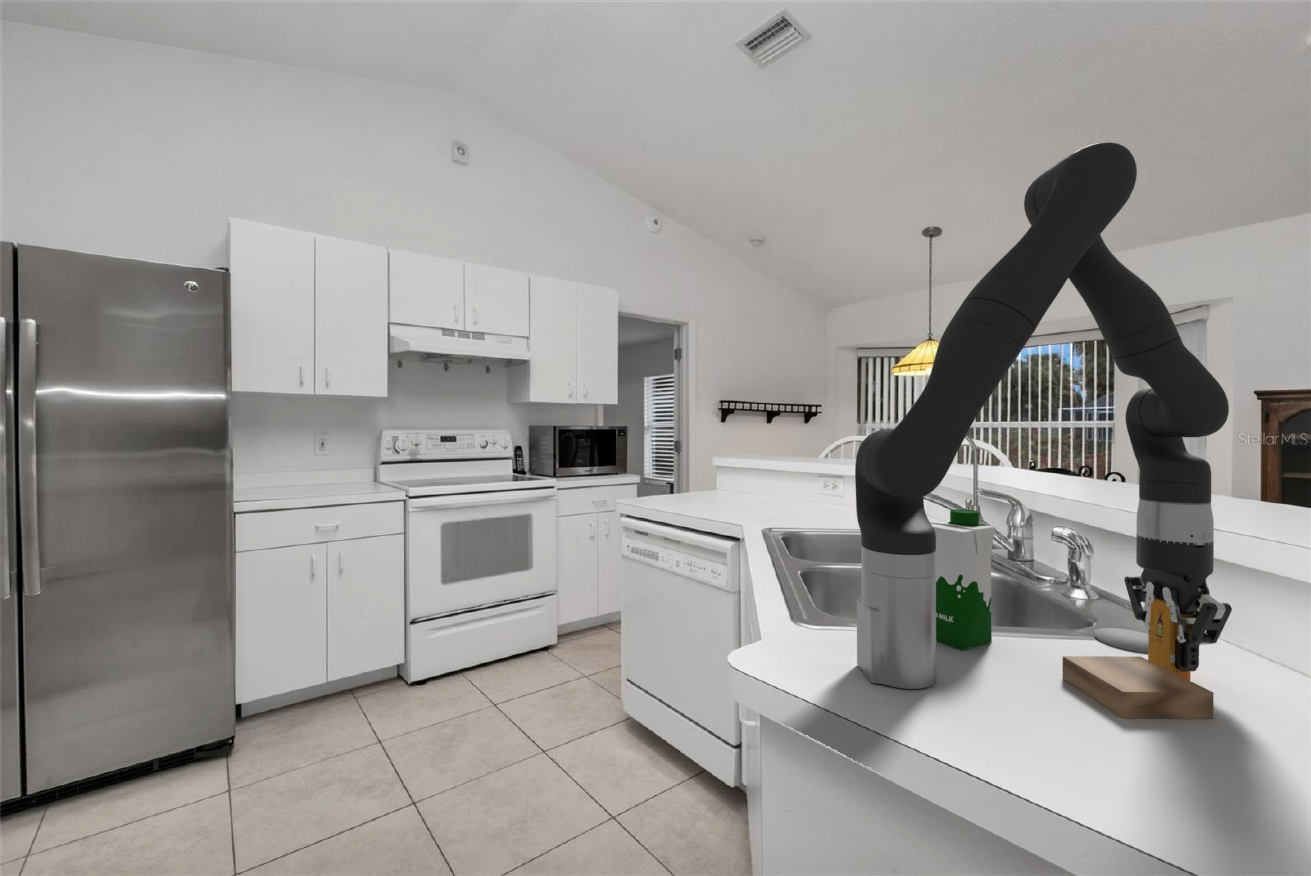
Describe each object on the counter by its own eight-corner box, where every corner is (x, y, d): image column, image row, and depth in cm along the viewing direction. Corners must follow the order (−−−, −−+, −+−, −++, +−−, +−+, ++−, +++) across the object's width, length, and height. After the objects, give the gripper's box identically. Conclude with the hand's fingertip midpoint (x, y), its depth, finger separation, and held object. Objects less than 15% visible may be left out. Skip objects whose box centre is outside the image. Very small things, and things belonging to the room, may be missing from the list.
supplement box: (1194, 681, 73) (1195, 605, 73) (1167, 681, 73) (1168, 605, 73) (1171, 670, 76) (1172, 597, 76) (1145, 670, 77) (1146, 597, 76)
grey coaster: (1124, 653, 82) (1124, 650, 82) (1080, 631, 91) (1080, 628, 91) (1188, 653, 82) (1188, 650, 82) (1137, 631, 91) (1137, 628, 91)
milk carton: (1001, 642, 87) (1001, 513, 86) (963, 654, 83) (963, 518, 82) (948, 625, 94) (948, 506, 94) (912, 634, 90) (912, 510, 90)
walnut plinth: (1122, 717, 64) (1122, 691, 64) (1062, 678, 74) (1062, 656, 74) (1213, 718, 64) (1213, 692, 64) (1140, 679, 74) (1140, 656, 74)
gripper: (1104, 525, 82) (1103, 643, 82) (1193, 546, 67) (1192, 688, 68) (1157, 525, 81) (1156, 643, 82) (1258, 545, 67) (1256, 688, 68)
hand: (1172, 663), depth 75 cm, fingers closed on supplement box, 3 cm apart
